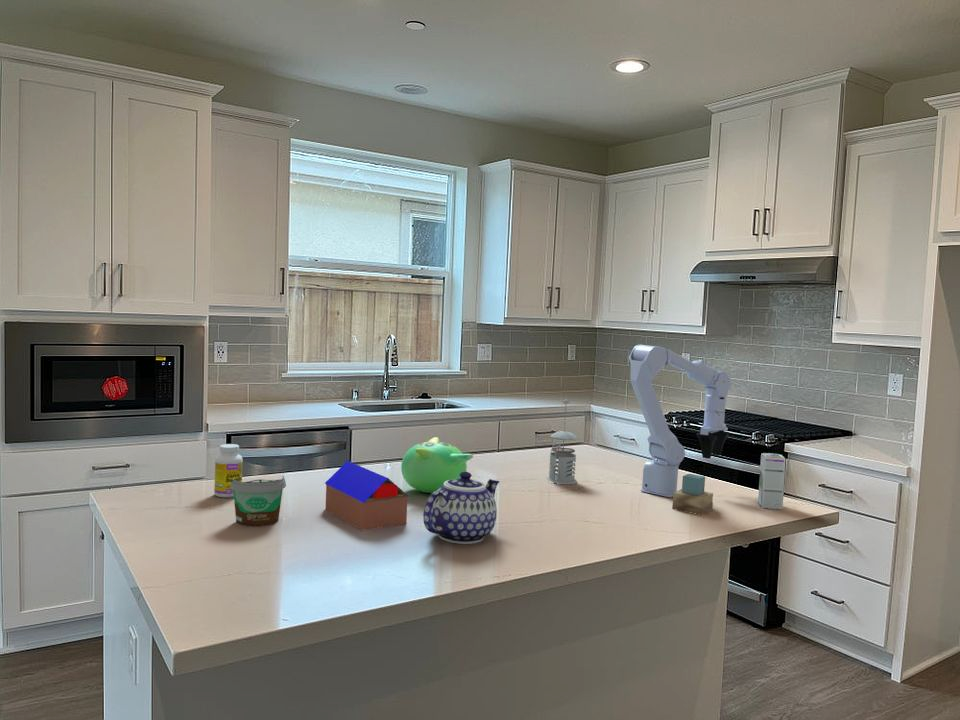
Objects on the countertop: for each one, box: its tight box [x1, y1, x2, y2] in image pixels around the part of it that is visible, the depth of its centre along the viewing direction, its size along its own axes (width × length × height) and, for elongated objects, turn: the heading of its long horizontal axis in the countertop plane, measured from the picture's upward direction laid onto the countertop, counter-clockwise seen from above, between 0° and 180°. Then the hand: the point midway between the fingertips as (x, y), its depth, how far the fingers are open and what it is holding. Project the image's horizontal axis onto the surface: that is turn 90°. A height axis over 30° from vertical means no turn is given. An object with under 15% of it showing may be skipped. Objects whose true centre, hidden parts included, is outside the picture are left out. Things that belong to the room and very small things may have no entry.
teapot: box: [423, 471, 500, 545], centre depth 161 cm, size 25×15×15 cm, turn 139°
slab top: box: [672, 488, 714, 508], centre depth 195 cm, size 8×8×2 cm
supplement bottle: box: [213, 443, 244, 499], centre depth 186 cm, size 7×7×13 cm
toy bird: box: [400, 436, 474, 494], centre depth 199 cm, size 18×17×15 cm
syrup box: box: [757, 452, 786, 511], centre depth 201 cm, size 6×6×14 cm
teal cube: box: [681, 473, 706, 496], centre depth 195 cm, size 4×4×4 cm
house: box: [324, 460, 409, 531], centre depth 173 cm, size 12×20×12 cm, turn 37°
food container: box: [230, 475, 287, 528], centre depth 163 cm, size 12×6×10 cm, turn 117°
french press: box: [546, 399, 578, 485], centre depth 219 cm, size 10×12×25 cm
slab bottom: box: [671, 501, 714, 516], centre depth 195 cm, size 8×8×2 cm
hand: (711, 456), depth 216 cm, fingers open, 7 cm apart
